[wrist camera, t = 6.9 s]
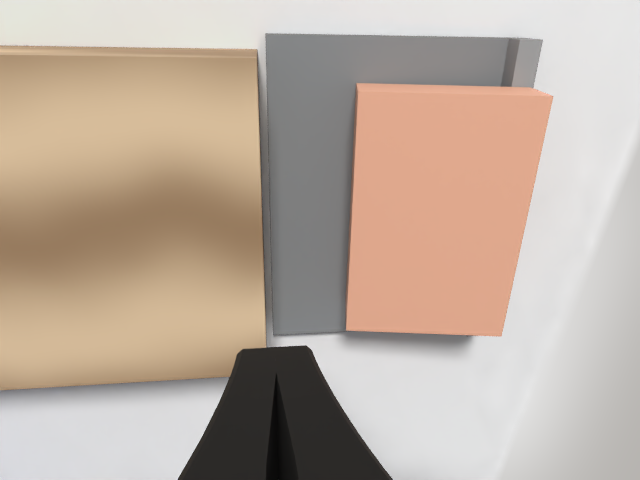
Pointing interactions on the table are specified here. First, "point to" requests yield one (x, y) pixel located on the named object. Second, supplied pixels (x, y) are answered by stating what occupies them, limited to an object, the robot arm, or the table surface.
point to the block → (439, 204)
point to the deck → (128, 214)
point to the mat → (346, 146)
